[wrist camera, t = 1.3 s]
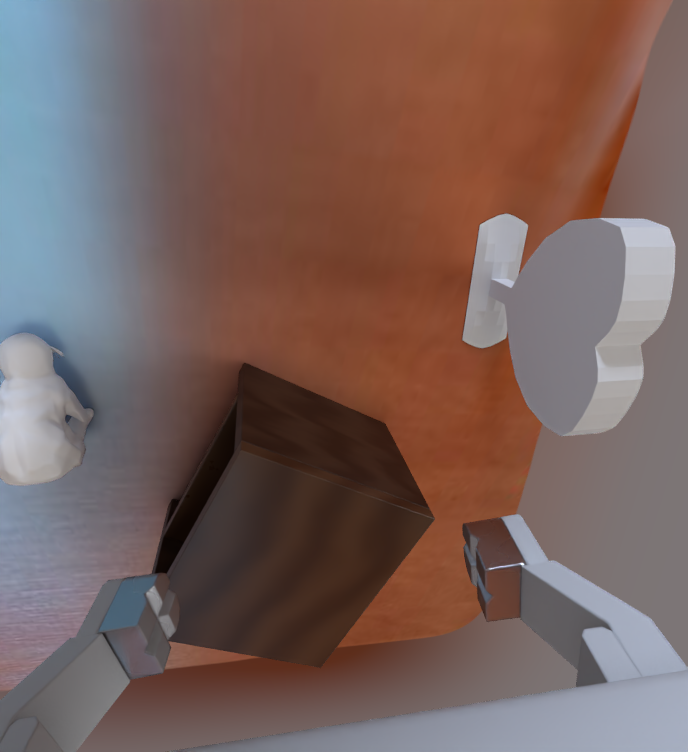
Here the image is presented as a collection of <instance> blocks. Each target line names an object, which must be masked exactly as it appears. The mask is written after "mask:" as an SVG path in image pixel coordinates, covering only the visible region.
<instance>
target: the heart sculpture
mask: <svg viewBox="0 0 688 752" xmlns="http://www.w3.org/2000/svg"><path fill="white" fill-rule="evenodd" d="M527 229H528V225H527V224H526V223H524V222H523V221H522V220H520V219H519V218H517V217H515V216H513V215H510V214H502V215H498V216H496V217H494V218H492V219H489V220H488V221H486V222H484V223H482V224H481V225H480V228H479V234H478V241H477V247H476V254H475V260H474V267H473V274H472V280H471V287H470V293H469V300H468V306H467V313H466V319H465V326H464V332H463V339H462V340H463V341H465V342H466V343H468V344H470V345H472V346H475V347H479V348H486V347H490V346H492V345H494V344H496V343H499V342H500V341H502V340H504V339H506V335H507V330H508V337H509V347H510V352H511V357H512V362H513V367H514V372H515V377H516V380H517V382H518V385H519V387H520V389H521V392H522V394H523V397H524V399H525V402H526V404H527V406H528V407H529V408H530V409H531V411H532V412H533V413H534V414H535V415H536V417H537V418H538V419H539V420H540V421H541V423H542V424H543V425H544V426H545V427H547V428H548V429H550V430H552V431H553V432H555V433H556V434H558V435H560V436H571V435H582V434H594V433H603V432H605V431H607V430H609V429H612V428H614V427H615V426H616V425H617V424H618V422H619V421H620V420H621V419H622V417H623V416H624V415H625V414H626V412H627V411H628V409H629V408H630V406H631V404H632V403H633V401H634V399H635V398H636V396H637V394H638V391H639V388H640V386H641V383H642V380H643V366H644V365H643V359H642V353H641V344H642V343H643V342H644V341H645V340H646V339H647V338H648V337H650V336H651V334H653V333H654V332H655V331H656V330H657V329H658V327H659V326H660V324H661V323H662V322H663V320H664V318H665V314H666V312H667V309H668V305H669V302H670V299H671V292H672V286H673V280H674V270H675V244H674V241H673V238H672V235H671V232H670V229H669V228H668V227H666V226H663V225H660V224H658V223H655V222H652V221H650V220H647V219H623V218H595V219H584V220H574V221H569V222H568V223H567V224H565V225H564V226H562V227H561V228H559V229H558V230H557V231H555V232H554V233H552V234H551V235H549V236H548V237H547V238H545V239H544V241H543V242H542V243H541V245H540V246H539V247H538V248H537V250H536V251H535V252H534V254H533V255H532V256H531V257H530V259H529V260H528V261H527V263H526V264H525V266H524V268H523V269H522V271H521V273H520V274H519V269H520V264H521V259H522V254H523V249H524V244H525V239H526V234H527ZM518 275H519V276H518Z"/></svg>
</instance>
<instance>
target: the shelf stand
mask: <svg viewBox="0 0 688 752" xmlns="http://www.w3.org/2000/svg"><path fill="white" fill-rule="evenodd" d="M434 520H435V518H434V516H433V514H432V512H431V510H430V509H429V507H428V505H427V503H426V501H425V499H424V497H423V495H422V493H421V491H420V489H419V487H418V486H417V484H416V482H415V480H414V478H413V476H412V474H411V472H410V470H409V468H408V466H407V464H406V462H405V461H404V459H403V457H402V455H401V453H400V451H399V449H398V447H397V445H396V443H395V441H394V439H393V437H392V436H391V434H390V432H389V430H388V428H387V426H386V424H385V423H382V422H380V421H378V420H375V419H373V418H371V417H368V416H366V415H364V414H362V413H359V412H357V411H355V410H352V409H350V408H348V407H345V406H343V405H341V404H338V403H336V402H334V401H332V400H329V399H327V398H325V397H322V396H320V395H318V394H315V393H313V392H311V391H308V390H306V389H304V388H302V387H299V386H297V385H295V384H292V383H290V382H288V381H285V380H283V379H281V378H278V377H276V376H274V375H272V374H269V373H267V372H265V371H262V370H260V369H258V368H255V367H253V366H251V365H248V364H246V363H244V364H243V366H242V368H241V370H240V372H239V384H238V394H237V395H236V397H235V399H234V401H233V403H232V404H231V406H230V408H229V410H228V412H227V414H226V416H225V418H224V419H223V421H222V423H221V425H220V427H219V429H218V431H217V433H216V434H215V436H214V438H213V440H212V442H211V444H210V446H209V448H208V449H207V451H206V453H205V455H204V457H203V459H202V461H201V462H200V464H199V466H198V468H197V470H196V472H195V474H194V476H193V477H192V479H191V481H190V483H189V485H188V487H187V489H186V491H185V492H184V494H183V496H182V498H181V500H180V501H177V500H174V499H172V501H171V503H170V504H169V506H168V510H167V514H166V518H165V522H164V526H163V530H162V534H161V538H160V542H159V546H158V550H157V554H156V558H155V563H154V567H153V571H152V574H156V573H166V575H167V577H168V578H169V580H170V584H169V587H168V589H169V590H171V591H172V592H174V593H176V596H177V598H178V601H179V606H180V615H179V623H178V626H177V630H176V632H175V633H174V634H173V635H172V636H171V637H170V638H169V639H168V641H171V642H177V643H183V644H189V645H194V646H200V647H206V648H211V649H217V650H223V651H229V652H234V653H240V654H246V655H251V656H257V657H263V658H269V659H275V660H280V661H286V662H292V663H298V664H303V665H309V666H314V667H321V666H322V665H323V664H324V663H325V661H326V660H327V659H328V658H329V656H330V655H331V654H332V652H333V651H334V650H335V648H336V647H337V646H338V645H339V643H340V642H341V641H342V639H343V638H344V637H345V635H346V634H347V633H348V631H349V630H350V629H351V628H352V626H353V625H354V624H355V622H356V621H357V620H358V618H359V617H360V616H361V615H362V613H363V612H364V611H365V609H366V608H367V607H368V605H369V604H370V603H371V602H372V600H373V599H374V598H375V596H376V595H377V594H378V592H379V591H380V590H381V589H382V587H383V586H384V585H385V583H386V582H387V581H388V579H389V578H390V577H391V576H392V574H393V573H394V572H395V570H396V569H397V568H398V566H399V565H400V564H401V563H402V561H403V560H404V559H405V557H406V556H407V555H408V553H409V552H410V551H411V550H412V548H413V547H414V546H415V544H416V543H417V542H418V540H419V539H420V538H421V537H422V535H423V534H424V533H425V531H426V530H427V529H428V527H429V526H430V525H431V524H432V522H433V521H434Z"/></svg>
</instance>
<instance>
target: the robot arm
mask: <svg viewBox="0 0 688 752" xmlns="http://www.w3.org/2000/svg"><path fill="white" fill-rule="evenodd" d="M463 536H464V539H465V541H466V544H465V546H464V557H465V562H466V567H467V571H468V574H469V577H470V580H471V582H472V584H473V585H475V586H476V587H477V595H478V601H479V603H480V606H481V608H482V611H483V613H484V616H485V618H486V621H487V622H489V621H497V620H504V619H512V618H521V620H522V621H523V622H524V623H525V624H526V625H528V626H529V627H530V628H531V629H532V630H533V631H534V632H535V633H537V634H538V635H539V636H540V637H541V638H542V639H543V640H544V641H546V642H547V643H548V644H549V645H550V646H551V647H553V649H555V650H556V651H557V652H558V653H559V654H560V655H561V656H562V657H564V658H565V659H566V660H567V661H568V662H569V663H570V664H571V665H573V666H574V667H575V668H576V669H577V670H578V673H577V682H576V687H575V688H569V689H562V690H556V691H549V692H544V693H537V694H530V695H524V696H517V697H511V698H505V699H499V700H492V701H486V702H479V703H473V704H467V705H460V706H454V707H447V708H441V709H435V710H428V711H422V712H416V713H410V714H403V715H397V716H391V717H384V718H378V719H372V720H366V721H359V722H353V723H346V724H340V725H334V726H328V727H321V728H315V729H308V730H302V731H295V732H289V733H283V734H276V735H270V736H263V737H257V738H250V739H244V740H238V741H231V742H225V743H219V744H212V745H206V746H199V747H193V748H187V749H181V750H174V751H168V752H688V667H687V666H686V665H685V663H684V662H683V661H682V659H681V658H680V657H679V655H678V654H677V653H676V651H675V650H674V649H673V647H672V646H671V645H670V644H669V642H668V641H667V640H666V638H665V637H664V636H663V634H662V633H661V632H660V630H659V629H658V628H657V626H656V625H655V624H654V622H653V621H652V620H651V618H650V617H648V616H646V615H645V614H643V613H641V612H640V611H638V610H636V609H635V608H633V607H631V606H630V605H628V604H626V603H625V602H623V601H621V600H620V599H618V598H616V597H615V596H613V595H611V594H610V593H608V592H606V591H605V590H603V589H601V588H600V587H598V586H596V585H595V584H593V583H591V582H590V581H588V580H586V579H585V578H583V577H581V576H580V575H578V574H576V573H575V572H573V571H571V570H570V569H568V568H566V567H565V566H563V565H561V564H559V563H558V562H556V561H549V560H548V559H547V557H546V555H545V554H544V552H543V551H542V549H541V548H540V546H539V544H538V543H537V541H536V539H535V537H534V536H533V534H532V533H531V531H530V529H529V528H528V526H527V524H526V523H525V521H524V519H523V518H522V516H520V515H519V514H516V515H510V516H504V517H500V518H493V519H487V520H481V521H475V522H469V523H464V524H463ZM169 584H170V580H169V578H168V577H167V575H166V573H156V574H149V575H142V576H134V577H127V578H122V579H115V580H108V581H107V582H106V583H105V584H104V585H103V586H102V588H101V590H100V592H99V594H98V596H97V597H96V599H95V601H94V603H93V605H92V607H91V609H90V611H89V613H88V615H87V616H86V618H85V620H84V622H83V624H82V626H81V628H80V630H79V632H78V634H77V636H76V637H74V638H70V639H69V640H67V641H66V642H65V643H64V644H63V645H62V646H61V647H60V648H58V649H57V650H56V651H55V652H54V653H53V654H52V655H51V656H49V657H48V658H47V659H46V660H45V661H44V662H43V663H42V664H41V665H39V666H38V667H37V668H36V669H35V670H34V671H33V672H32V673H30V674H29V675H28V676H27V677H26V678H25V679H24V680H23V681H21V682H20V683H19V684H18V685H17V686H16V687H15V688H14V689H12V690H11V691H10V692H9V693H8V694H7V695H6V696H5V697H3V698H2V699H1V700H0V752H76V750H77V749H78V748H79V747H80V746H81V744H82V743H83V742H84V740H85V739H86V738H87V736H88V735H89V734H90V733H91V731H92V730H93V729H94V728H95V726H96V725H97V724H98V722H99V721H100V720H101V718H102V717H103V716H104V715H105V713H106V712H107V711H108V710H109V708H110V707H111V706H112V704H113V703H114V702H115V701H116V699H117V698H118V697H119V695H120V694H121V693H122V692H123V690H124V689H125V688H126V686H127V685H128V684H129V683H130V679H136V678H141V677H146V676H151V675H157V674H161V673H163V672H164V668H165V665H166V662H167V659H168V656H169V652H170V649H171V646H170V644H169V642H168V639H169V638H170V637H171V636H172V635H173V634H174V633H175V632H176V630H177V626H178V623H179V615H180V606H179V601H178V598H177V596H176V593H174V592H172V591H171V590H169V589H168V587H169Z"/></svg>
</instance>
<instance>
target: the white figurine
mask: <svg viewBox="0 0 688 752" xmlns="http://www.w3.org/2000/svg"><path fill="white" fill-rule="evenodd" d="M52 351H53V352H54V351H55V352H56V353H58V354H59V355H61V354H62V355H63V353H62V352H60V351H58V349H56V348H54V347H52V346H49V345H48V344H47V343H46V342H45V341H44V340H43V339H41V338H39V337H38V336H36V335H34V334H30V333H18V334H15V335H12V336H10V337H8V338H7V339H5V340H4V341H3V342H2V343H1V344H0V369H1V371H2V373H3V375H4V376H5V380H4V381H3V383H2V385H1V387H0V478H1V479H2V480H3V481H4V482H5V483H7V484H9V485H17V486H24V485H32V484H41V483H47V482H51V481H54V480H57V479H59V478H61V477H63V476H64V475H65V474H66V473H68V472H69V471H71V469H72V468H74V467H77V466H80V465H81V464H82V459H83V456H84V453H85V450H86V448H85V445H84V443H83V440H84V436H85V433H86V428H87V426H88V424H89V422H90V421H91V419H92V418H93V415H94V411H93V410H92V409H90V408H87V409H84V408H83V406H82V405H81V403H80V402H79V400H78V399H77V397H76V395H75V394H74V392H73V391H72V390H70V389H69V387H68V386H67V384H66V383H65V381H64V380H63V379H62V378H61V377H60V376H58V375H57V374H56V372H55V370H54V367H53V361H54V360H53V355H52V353H53V352H52ZM55 352H54V353H55ZM54 353H53V354H54ZM56 355H57V354H56ZM62 355H61V356H62ZM54 356H55V355H54ZM55 357H56V356H55ZM57 357H58V355H57ZM63 357H64V356H63ZM64 358H65V357H64ZM66 415H70V416H72V417H71V419H70V420H69V422H68V423H66V421H65V416H66Z"/></svg>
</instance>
